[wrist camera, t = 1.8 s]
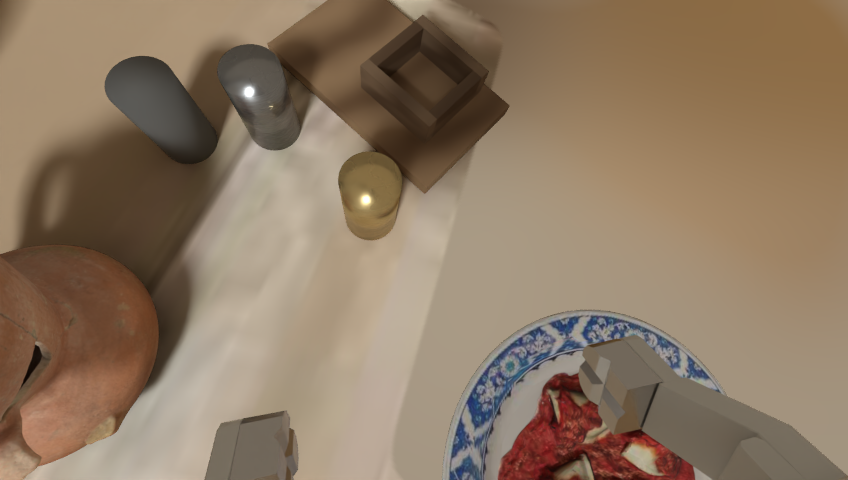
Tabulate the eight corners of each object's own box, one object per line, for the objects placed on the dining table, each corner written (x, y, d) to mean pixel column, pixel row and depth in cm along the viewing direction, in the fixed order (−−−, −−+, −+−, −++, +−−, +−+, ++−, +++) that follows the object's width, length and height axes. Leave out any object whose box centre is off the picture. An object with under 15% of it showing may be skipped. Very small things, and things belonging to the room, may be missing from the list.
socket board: (271, 55, 38) (258, 18, 34) (360, -11, 41) (358, -52, 37) (424, 193, 36) (432, 173, 32) (504, 114, 40) (520, 86, 35)
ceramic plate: (506, 264, 36) (518, 257, 33) (761, 386, 36) (795, 389, 33) (380, 579, 29) (381, 605, 26) (701, 730, 29) (737, 773, 26)
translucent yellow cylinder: (334, 216, 35) (324, 180, 27) (370, 183, 36) (369, 139, 28) (371, 250, 35) (371, 223, 27) (405, 216, 36) (415, 180, 28)
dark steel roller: (239, 127, 36) (203, 68, 28) (277, 98, 37) (252, 33, 29) (273, 159, 35) (247, 108, 28) (310, 129, 37) (294, 71, 29)
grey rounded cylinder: (152, 140, 35) (90, 81, 27) (194, 109, 36) (146, 44, 28) (187, 173, 34) (134, 123, 26) (228, 141, 35) (188, 85, 28)
